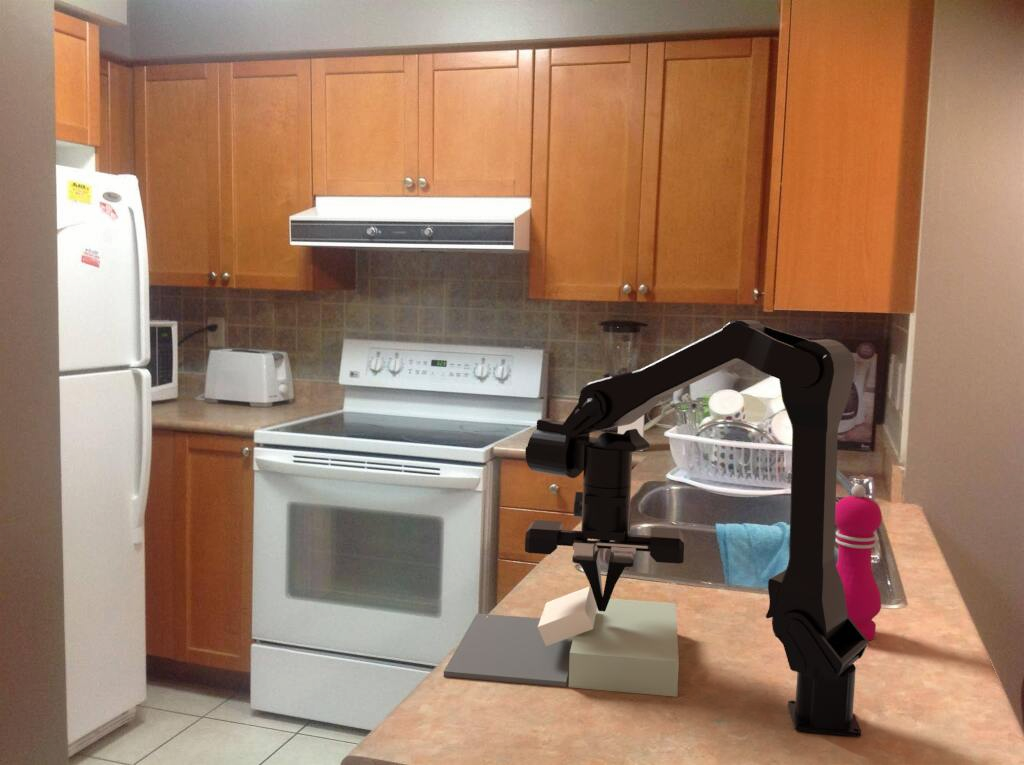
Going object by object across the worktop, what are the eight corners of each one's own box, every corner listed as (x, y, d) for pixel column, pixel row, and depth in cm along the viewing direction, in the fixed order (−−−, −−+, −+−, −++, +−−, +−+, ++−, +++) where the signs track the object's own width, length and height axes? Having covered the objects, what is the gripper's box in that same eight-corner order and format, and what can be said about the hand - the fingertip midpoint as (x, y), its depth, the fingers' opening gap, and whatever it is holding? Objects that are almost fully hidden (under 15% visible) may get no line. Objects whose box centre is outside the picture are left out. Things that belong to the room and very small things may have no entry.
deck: (677, 696, 105) (678, 661, 104) (568, 687, 107) (569, 652, 106) (674, 633, 124) (675, 603, 124) (582, 625, 126) (583, 596, 126)
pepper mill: (837, 620, 131) (845, 477, 129) (888, 634, 126) (898, 485, 124) (811, 632, 126) (819, 483, 124) (863, 648, 121) (873, 493, 119)
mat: (565, 687, 107) (566, 681, 106) (443, 676, 109) (443, 671, 109) (580, 625, 126) (580, 621, 126) (476, 617, 128) (476, 613, 128)
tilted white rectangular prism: (593, 628, 111) (584, 609, 111) (546, 646, 112) (537, 626, 112) (597, 604, 120) (589, 586, 120) (554, 620, 121) (546, 602, 121)
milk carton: (617, 450, 268) (619, 383, 266) (618, 446, 275) (620, 381, 273) (642, 451, 267) (645, 384, 265) (643, 447, 273) (645, 382, 272)
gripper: (684, 475, 120) (678, 595, 122) (538, 467, 123) (534, 584, 125) (686, 493, 109) (680, 625, 111) (526, 484, 112) (522, 612, 114)
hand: (602, 610), depth 115 cm, fingers closed
